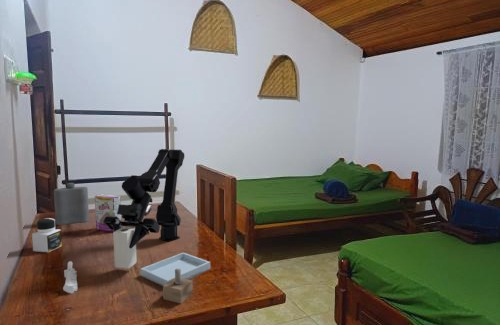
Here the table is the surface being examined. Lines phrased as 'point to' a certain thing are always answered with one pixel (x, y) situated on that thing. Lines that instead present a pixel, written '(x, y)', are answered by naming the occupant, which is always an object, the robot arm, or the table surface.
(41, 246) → the medicine bottle
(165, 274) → the tray
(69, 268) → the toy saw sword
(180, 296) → the wood block with post
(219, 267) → the table surface
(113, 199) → the candy bar box
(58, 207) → the flask
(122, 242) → the bored block
